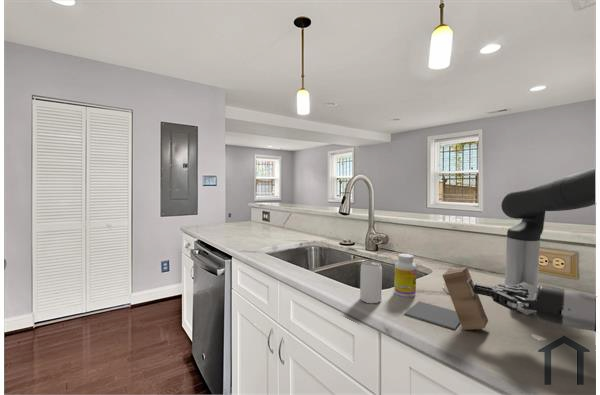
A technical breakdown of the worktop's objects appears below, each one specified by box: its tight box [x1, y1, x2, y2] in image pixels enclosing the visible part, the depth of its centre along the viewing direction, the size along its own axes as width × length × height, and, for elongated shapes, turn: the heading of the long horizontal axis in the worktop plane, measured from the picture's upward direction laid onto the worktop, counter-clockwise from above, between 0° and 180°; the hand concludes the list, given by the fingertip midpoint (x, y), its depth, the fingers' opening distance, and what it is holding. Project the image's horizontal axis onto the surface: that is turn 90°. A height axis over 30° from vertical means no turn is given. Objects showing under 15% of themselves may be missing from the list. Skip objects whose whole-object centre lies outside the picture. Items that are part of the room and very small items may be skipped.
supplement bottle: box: [393, 253, 417, 298], centre depth 101 cm, size 7×7×13 cm
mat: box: [403, 300, 461, 331], centre depth 86 cm, size 11×13×1 cm
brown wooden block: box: [442, 266, 489, 331], centre depth 79 cm, size 5×5×14 cm
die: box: [517, 282, 539, 316], centre depth 88 cm, size 8×9×10 cm
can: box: [359, 259, 383, 304], centre depth 96 cm, size 6×6×12 cm
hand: (474, 287), depth 77 cm, fingers closed
